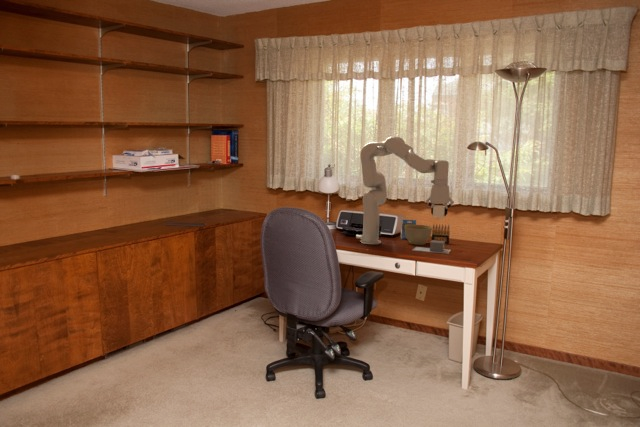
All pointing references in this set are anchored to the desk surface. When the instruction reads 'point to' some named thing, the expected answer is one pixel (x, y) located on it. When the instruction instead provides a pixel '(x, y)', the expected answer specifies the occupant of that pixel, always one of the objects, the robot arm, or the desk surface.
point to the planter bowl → (418, 233)
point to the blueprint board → (429, 250)
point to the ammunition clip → (436, 233)
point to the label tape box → (404, 227)
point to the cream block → (438, 211)
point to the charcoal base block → (437, 246)
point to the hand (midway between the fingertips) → (439, 215)
